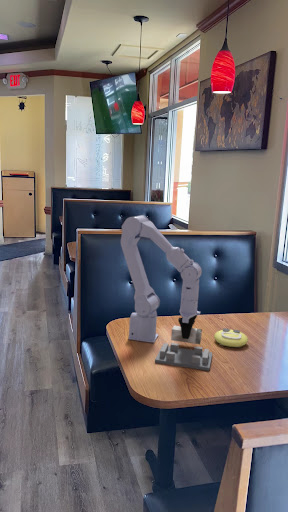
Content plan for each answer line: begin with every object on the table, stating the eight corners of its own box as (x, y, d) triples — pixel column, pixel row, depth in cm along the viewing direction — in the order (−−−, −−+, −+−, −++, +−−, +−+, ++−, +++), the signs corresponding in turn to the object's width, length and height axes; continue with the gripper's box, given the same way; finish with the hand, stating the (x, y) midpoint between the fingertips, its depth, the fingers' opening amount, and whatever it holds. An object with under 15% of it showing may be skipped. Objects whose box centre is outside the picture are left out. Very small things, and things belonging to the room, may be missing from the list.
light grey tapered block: (171, 340, 146) (171, 329, 145) (172, 336, 150) (173, 325, 149) (199, 344, 144) (200, 333, 143) (201, 340, 147) (202, 329, 147)
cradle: (154, 362, 132) (155, 353, 132) (162, 348, 144) (162, 339, 143) (209, 370, 129) (209, 361, 128) (212, 355, 140) (212, 346, 139)
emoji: (249, 342, 145) (247, 328, 156) (213, 338, 147) (215, 324, 158) (247, 352, 146) (246, 337, 157) (212, 348, 148) (214, 334, 159)
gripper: (198, 306, 136) (195, 345, 138) (203, 294, 150) (200, 330, 152) (177, 303, 137) (174, 342, 140) (183, 292, 151) (180, 327, 154)
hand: (186, 336), depth 146 cm, fingers closed on light grey tapered block, 4 cm apart
